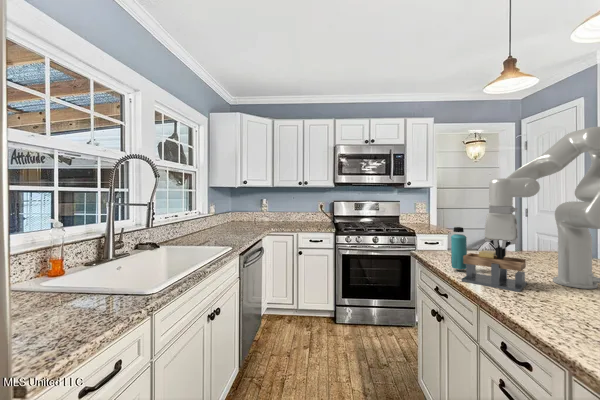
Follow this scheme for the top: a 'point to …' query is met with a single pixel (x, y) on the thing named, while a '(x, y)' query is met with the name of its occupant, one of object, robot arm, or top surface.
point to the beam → (504, 263)
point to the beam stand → (495, 278)
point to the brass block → (487, 254)
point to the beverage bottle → (458, 249)
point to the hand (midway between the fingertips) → (500, 257)
